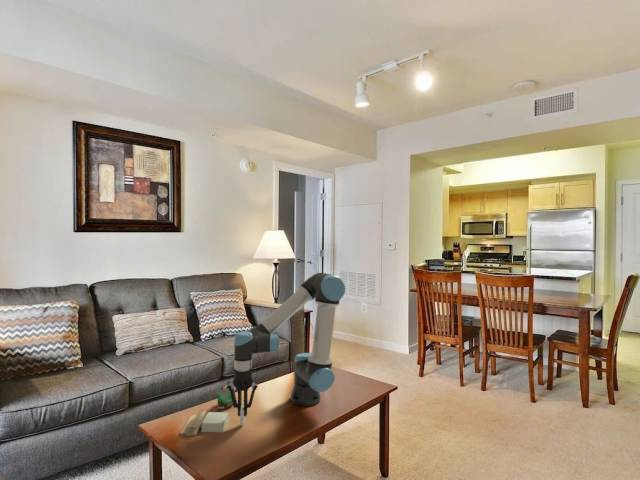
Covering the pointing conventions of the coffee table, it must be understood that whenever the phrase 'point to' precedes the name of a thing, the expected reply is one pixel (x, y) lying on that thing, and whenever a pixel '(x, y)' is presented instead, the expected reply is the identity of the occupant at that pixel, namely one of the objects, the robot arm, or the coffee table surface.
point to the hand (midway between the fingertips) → (242, 423)
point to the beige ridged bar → (194, 424)
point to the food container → (224, 397)
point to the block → (215, 422)
